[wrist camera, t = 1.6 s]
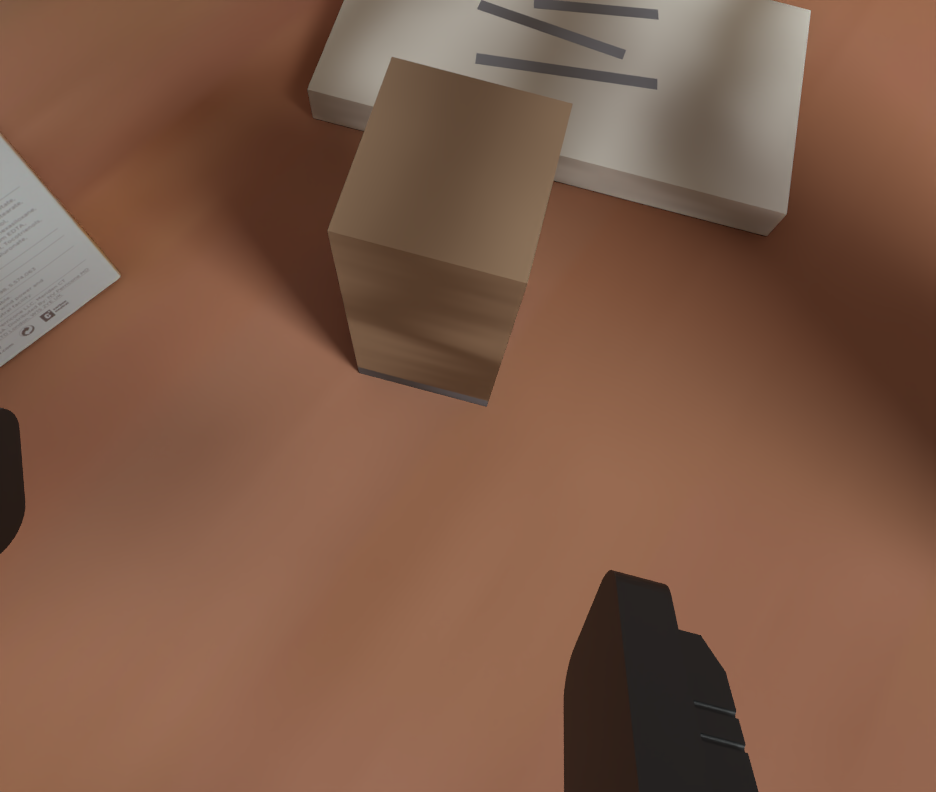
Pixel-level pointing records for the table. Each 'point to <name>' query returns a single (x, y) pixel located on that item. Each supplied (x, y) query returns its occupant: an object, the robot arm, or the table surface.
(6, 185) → the small box
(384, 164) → the block
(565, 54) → the board
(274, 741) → the table surface
